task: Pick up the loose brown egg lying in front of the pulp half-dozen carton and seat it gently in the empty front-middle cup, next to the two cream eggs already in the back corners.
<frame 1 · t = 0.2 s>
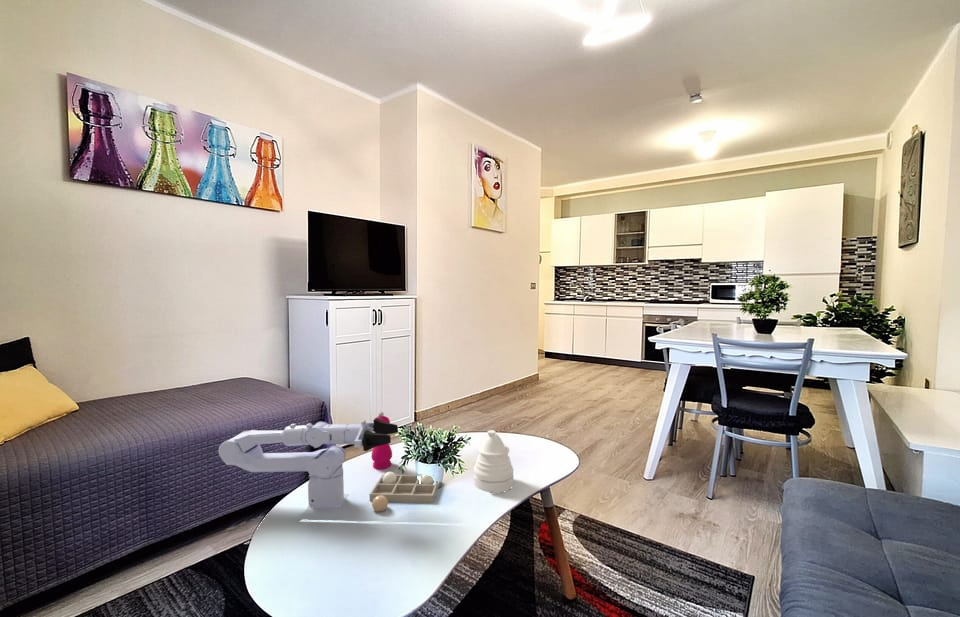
hand: (393, 433, 122), 21 cm above the table, tool horizontal, fingers open, 7 cm apart
carton: (406, 492, 130), on the table
brown egg: (380, 511, 119), on the table
cream egg left: (389, 485, 133), point 1 cm above the table, touching carton
honey pot: (493, 484, 135), on the table
cream egg right: (427, 486, 132), point 1 cm above the table, touching carton
pepper mill: (382, 467, 148), on the table
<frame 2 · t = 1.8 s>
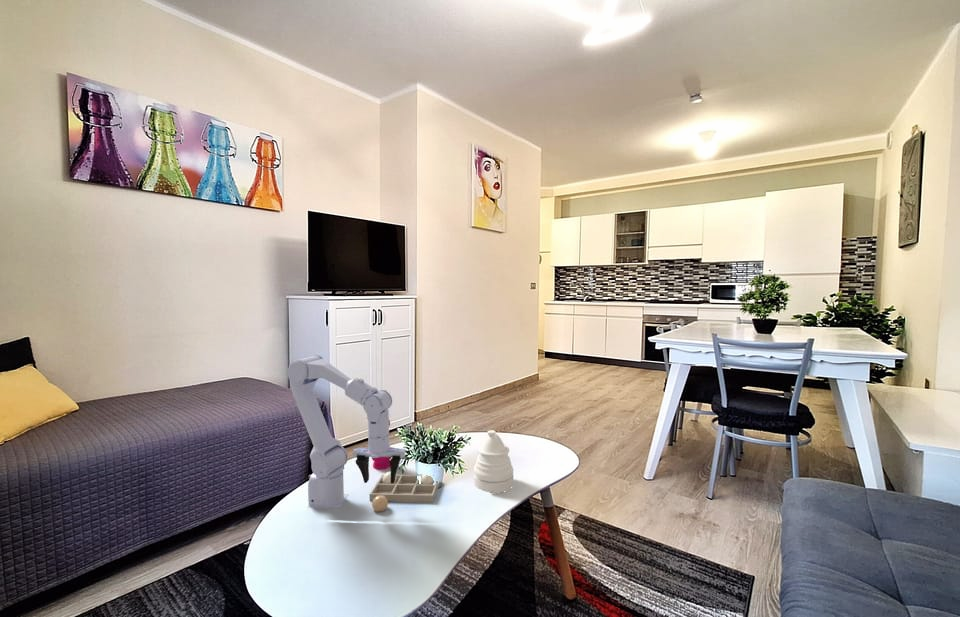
hand: (379, 481, 119), 9 cm above the table, tool pointing down, fingers open, 7 cm apart
nothing on the table moved.
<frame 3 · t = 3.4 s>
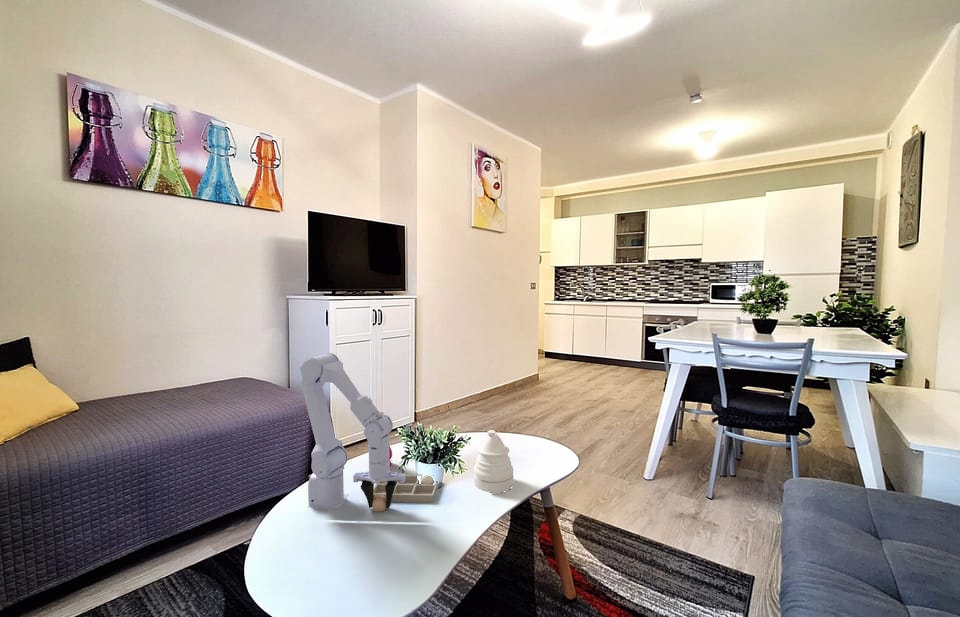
hand: (380, 506, 119), 1 cm above the table, tool pointing down, fingers closed on brown egg, 4 cm apart
brown egg: (380, 511, 119), on the table, touching gripper
everything else where it was.
when the fingers open (4 cm above the table, at t = 6.9 s): brown egg drops 2 cm, resting on carton.
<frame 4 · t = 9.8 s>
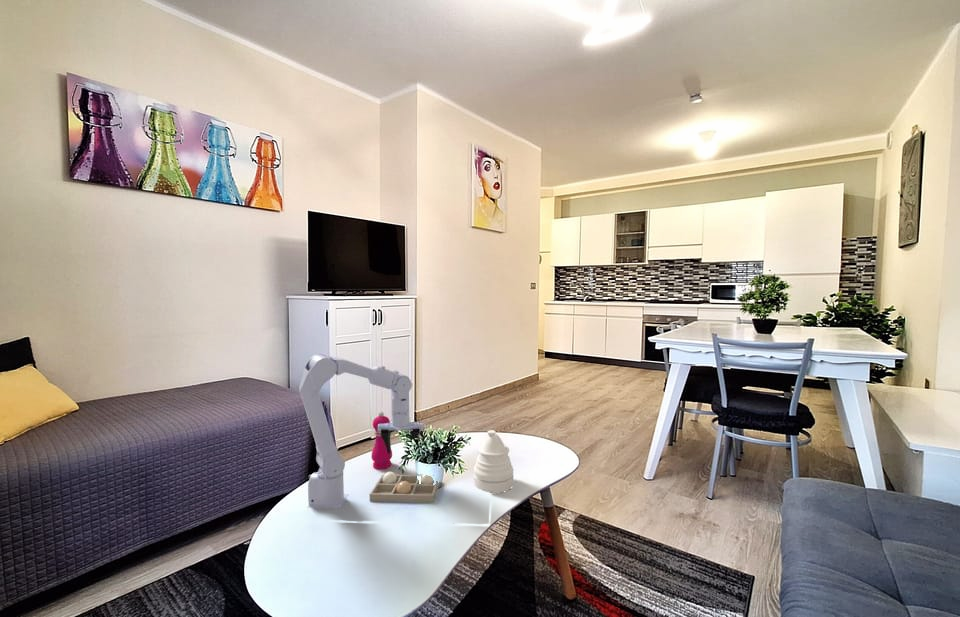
hand: (401, 452, 135), 10 cm above the table, tool pointing down, fingers open, 7 cm apart
brown egg: (403, 495, 126), point 1 cm above the table, touching carton
everything else where it was.
at the end: brown egg 0.1 cm from the target spot on the carton, point 0.6 cm above the carton's base; the gripper is holding nothing; cream egg left 6.8 cm from the carton (horizontally) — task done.
